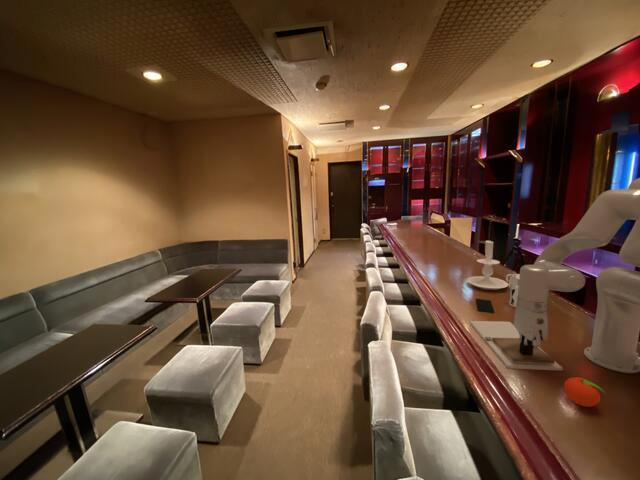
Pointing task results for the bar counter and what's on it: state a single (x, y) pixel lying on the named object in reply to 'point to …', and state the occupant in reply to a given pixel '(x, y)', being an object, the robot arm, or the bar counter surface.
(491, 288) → the candlestick
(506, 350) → the flip plaque
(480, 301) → the smartphone
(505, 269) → the bar counter surface
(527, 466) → the bar counter surface
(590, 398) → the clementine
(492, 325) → the plaque base
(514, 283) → the beer glass
